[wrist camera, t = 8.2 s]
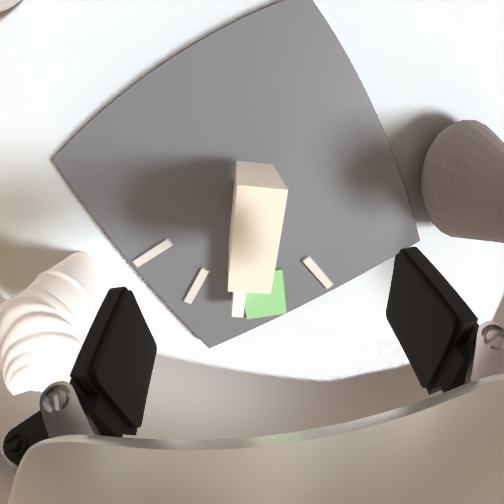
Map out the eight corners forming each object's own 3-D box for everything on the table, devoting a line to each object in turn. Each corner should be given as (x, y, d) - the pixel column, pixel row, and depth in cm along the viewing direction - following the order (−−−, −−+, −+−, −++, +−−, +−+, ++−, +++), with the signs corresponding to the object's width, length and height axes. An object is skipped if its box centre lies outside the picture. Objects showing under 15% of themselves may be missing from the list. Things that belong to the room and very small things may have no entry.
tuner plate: (302, -3, 16) (307, -10, 15) (412, 233, 27) (421, 241, 25) (60, 155, 21) (50, 160, 20) (209, 338, 32) (208, 350, 30)
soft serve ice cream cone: (98, 314, 29) (46, 437, 15) (41, 268, 26) (-37, 375, 12) (136, 270, 27) (77, 414, 13) (72, 215, 24) (-35, 328, 10)
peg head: (236, 154, 21) (237, 185, 14) (269, 158, 21) (288, 190, 14) (223, 300, 27) (221, 370, 20) (250, 302, 27) (255, 372, 20)
